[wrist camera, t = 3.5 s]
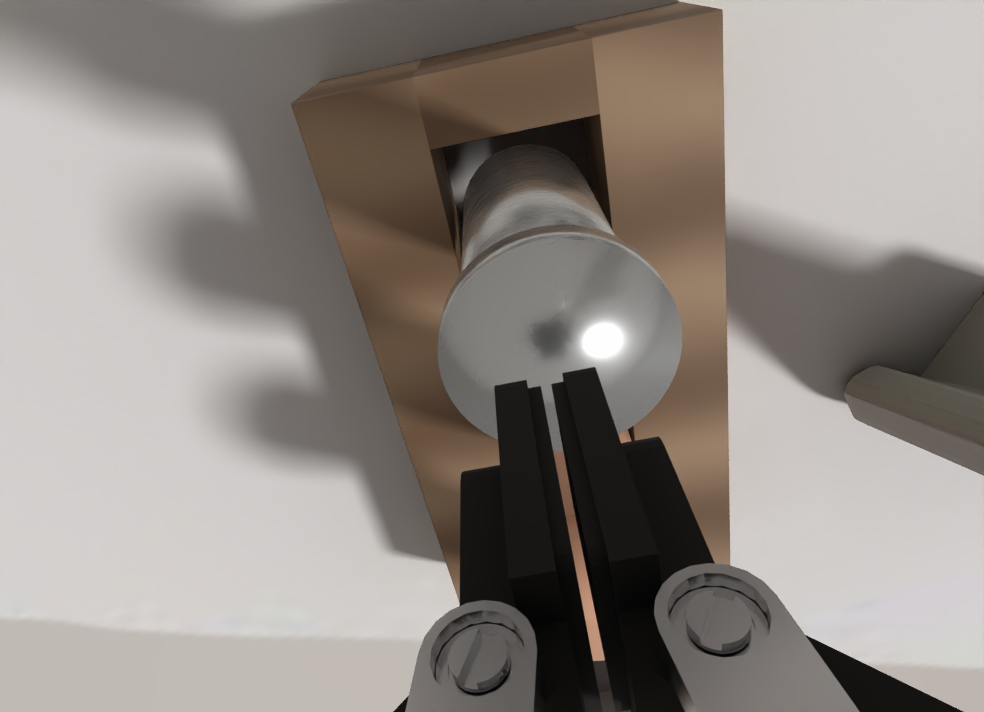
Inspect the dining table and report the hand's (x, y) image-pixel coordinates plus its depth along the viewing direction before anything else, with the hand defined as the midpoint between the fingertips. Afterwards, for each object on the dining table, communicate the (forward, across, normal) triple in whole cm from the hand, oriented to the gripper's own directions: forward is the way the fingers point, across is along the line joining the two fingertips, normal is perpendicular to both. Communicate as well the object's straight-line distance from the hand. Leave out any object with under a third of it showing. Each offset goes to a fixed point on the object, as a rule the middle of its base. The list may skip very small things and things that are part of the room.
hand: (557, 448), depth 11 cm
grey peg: (+11, -1, 0) cm, 11 cm away
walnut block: (+15, -1, +7) cm, 17 cm away
